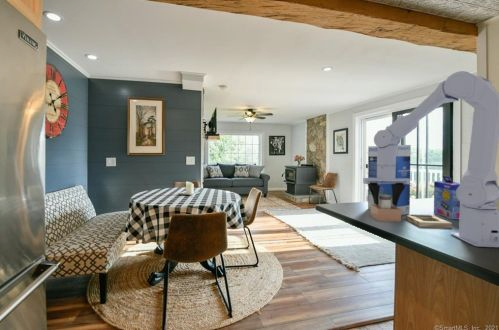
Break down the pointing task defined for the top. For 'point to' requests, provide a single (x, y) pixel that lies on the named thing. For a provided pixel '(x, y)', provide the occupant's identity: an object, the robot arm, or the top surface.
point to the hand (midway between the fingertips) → (385, 204)
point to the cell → (384, 201)
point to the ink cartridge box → (446, 198)
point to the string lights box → (401, 172)
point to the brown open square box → (386, 213)
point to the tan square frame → (428, 221)
